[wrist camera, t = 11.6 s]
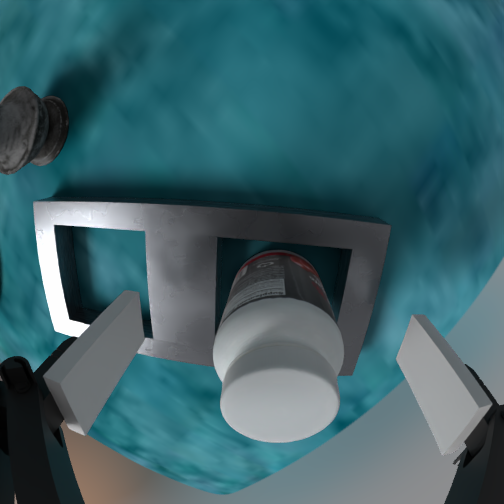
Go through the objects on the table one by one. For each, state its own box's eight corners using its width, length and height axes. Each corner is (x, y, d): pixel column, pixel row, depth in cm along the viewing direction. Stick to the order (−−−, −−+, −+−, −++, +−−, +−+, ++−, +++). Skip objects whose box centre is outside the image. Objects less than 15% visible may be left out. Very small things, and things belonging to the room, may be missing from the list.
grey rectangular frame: (68, 318, 20) (54, 330, 18) (51, 196, 17) (33, 201, 15) (346, 357, 19) (352, 375, 17) (378, 218, 16) (391, 225, 14)
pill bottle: (335, 301, 18) (379, 421, 8) (262, 339, 19) (253, 464, 9) (293, 229, 16) (319, 318, 7) (216, 274, 18) (164, 386, 8)
